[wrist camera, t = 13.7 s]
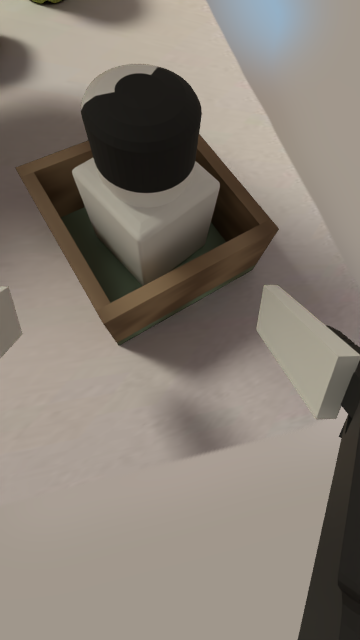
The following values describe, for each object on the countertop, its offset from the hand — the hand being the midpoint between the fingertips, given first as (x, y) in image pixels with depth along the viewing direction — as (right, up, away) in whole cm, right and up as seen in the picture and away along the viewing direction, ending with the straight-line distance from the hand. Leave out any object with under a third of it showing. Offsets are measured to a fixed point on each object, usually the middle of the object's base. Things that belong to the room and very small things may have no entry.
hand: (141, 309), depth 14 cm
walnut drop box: (-1, +6, +11) cm, 13 cm away
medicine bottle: (-1, +7, +10) cm, 12 cm away
